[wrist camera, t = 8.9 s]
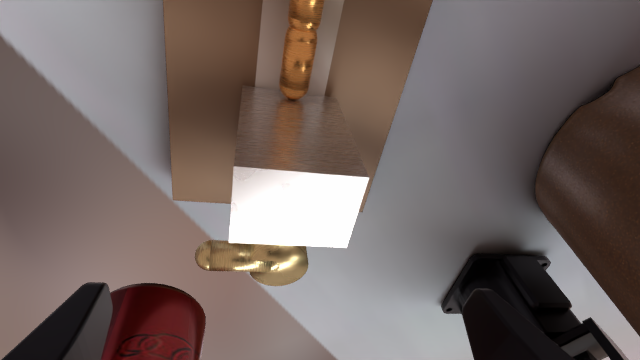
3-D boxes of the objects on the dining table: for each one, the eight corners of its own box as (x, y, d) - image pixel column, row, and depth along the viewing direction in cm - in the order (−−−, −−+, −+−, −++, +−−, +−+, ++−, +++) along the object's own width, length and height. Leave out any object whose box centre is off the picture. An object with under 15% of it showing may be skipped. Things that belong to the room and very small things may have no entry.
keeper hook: (294, 210, 20) (303, 288, 16) (208, 205, 19) (193, 286, 15) (301, 174, 18) (313, 248, 14) (209, 166, 17) (192, 244, 13)
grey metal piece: (323, 156, 18) (346, 247, 13) (238, 147, 17) (228, 242, 12) (369, -49, 13) (435, -28, 8) (254, -76, 12) (249, -68, 7)
